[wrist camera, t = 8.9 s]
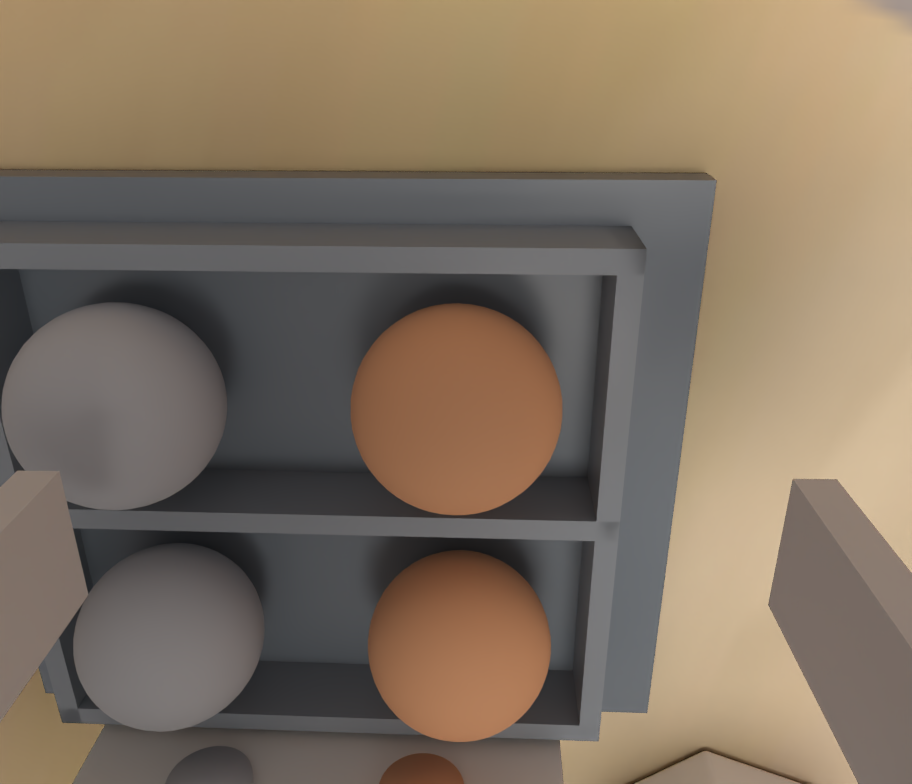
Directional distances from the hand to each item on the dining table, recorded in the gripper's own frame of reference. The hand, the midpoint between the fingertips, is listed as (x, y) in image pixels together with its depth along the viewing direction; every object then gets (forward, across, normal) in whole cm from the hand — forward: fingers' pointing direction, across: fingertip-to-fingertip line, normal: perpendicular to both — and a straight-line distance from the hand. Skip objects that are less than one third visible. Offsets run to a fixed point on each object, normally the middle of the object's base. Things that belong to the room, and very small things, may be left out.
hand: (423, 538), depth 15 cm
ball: (+7, +1, 0) cm, 8 cm away
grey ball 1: (+8, -7, 0) cm, 11 cm away
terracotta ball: (+8, +1, -7) cm, 10 cm away
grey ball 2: (+8, -7, -7) cm, 13 cm away
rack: (+9, -3, -3) cm, 10 cm away
